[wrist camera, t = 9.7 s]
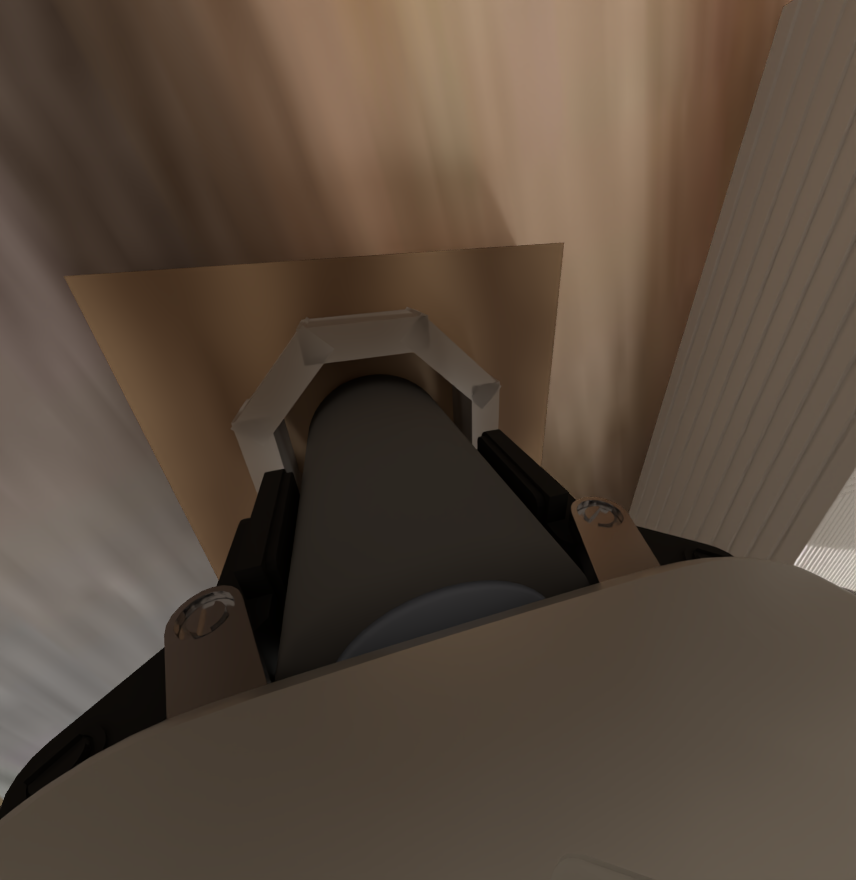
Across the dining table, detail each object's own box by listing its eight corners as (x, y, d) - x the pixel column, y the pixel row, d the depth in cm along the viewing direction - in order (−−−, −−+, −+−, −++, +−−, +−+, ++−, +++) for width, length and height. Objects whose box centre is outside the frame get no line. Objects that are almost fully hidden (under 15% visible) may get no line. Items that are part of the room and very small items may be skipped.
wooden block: (518, 248, 18) (606, 237, 12) (507, 471, 24) (561, 532, 19) (128, 275, 14) (-4, 276, 8) (237, 529, 21) (203, 625, 15)
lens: (440, 365, 14) (629, 510, 5) (447, 483, 17) (579, 712, 8) (291, 385, 13) (209, 619, 4) (324, 509, 16) (318, 814, 7)
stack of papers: (713, 502, 33) (865, 591, 24) (623, 523, 31) (751, 631, 21) (918, 36, 19) (1510, -201, 9) (777, 9, 16) (1376, -342, 7)
